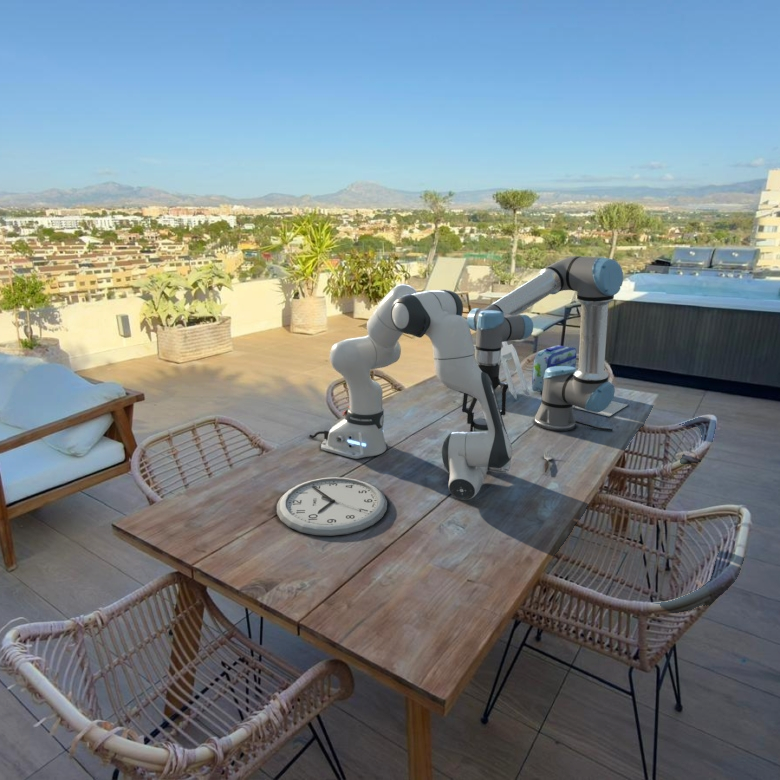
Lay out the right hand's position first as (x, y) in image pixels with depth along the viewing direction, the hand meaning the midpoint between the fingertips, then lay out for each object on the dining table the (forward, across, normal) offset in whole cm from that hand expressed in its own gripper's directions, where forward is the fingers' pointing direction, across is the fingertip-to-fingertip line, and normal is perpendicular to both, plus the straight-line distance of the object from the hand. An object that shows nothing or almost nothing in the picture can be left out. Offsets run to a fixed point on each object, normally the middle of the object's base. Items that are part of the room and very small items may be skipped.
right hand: (481, 434), depth 164 cm
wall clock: (+11, +39, +33) cm, 52 cm away
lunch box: (+11, -32, -92) cm, 98 cm away
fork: (+11, -22, -7) cm, 25 cm away
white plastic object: (+11, +2, -80) cm, 81 cm away
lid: (-4, 0, 0) cm, 4 cm away
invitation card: (+11, -50, -72) cm, 88 cm away
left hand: (+5, 0, -1) cm, 5 cm away
